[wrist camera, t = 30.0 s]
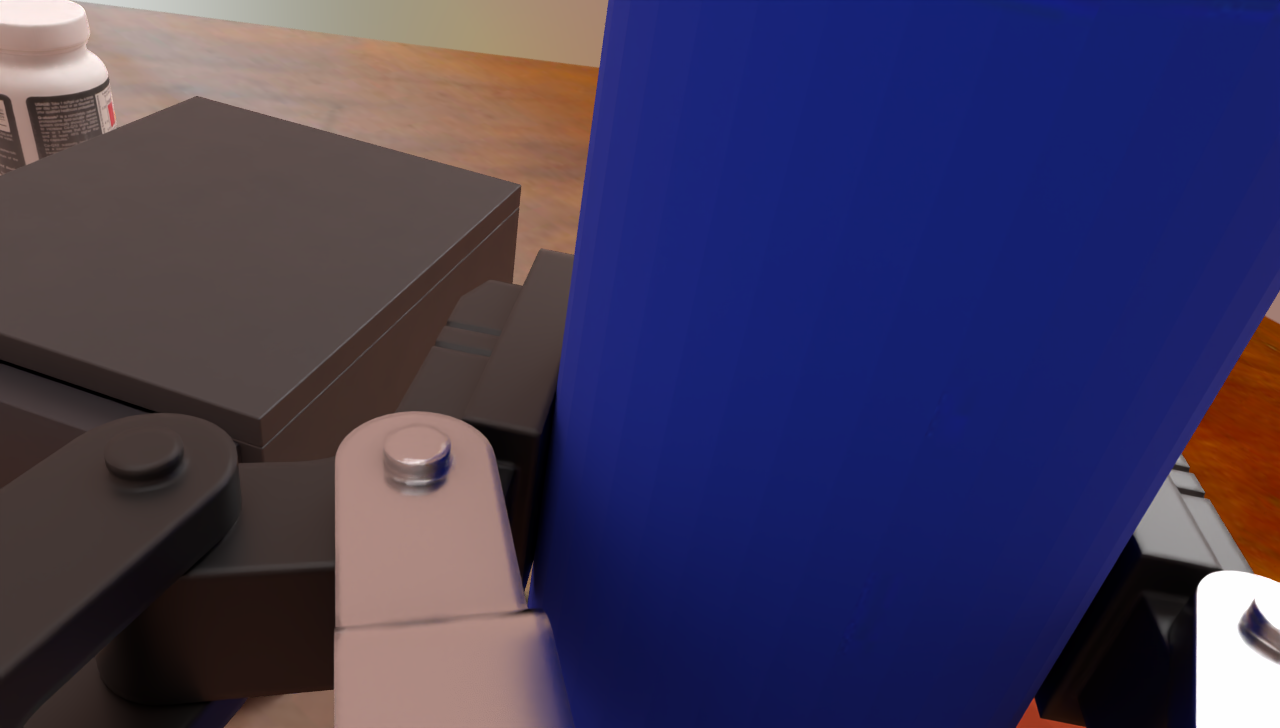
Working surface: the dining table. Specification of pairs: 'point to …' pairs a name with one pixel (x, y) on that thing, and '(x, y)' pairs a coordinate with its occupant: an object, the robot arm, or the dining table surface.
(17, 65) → the pill bottle
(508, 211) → the small drawer unit
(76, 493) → the robot arm
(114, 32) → the dining table surface
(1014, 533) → the beverage can
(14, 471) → the drawer with bar handle
